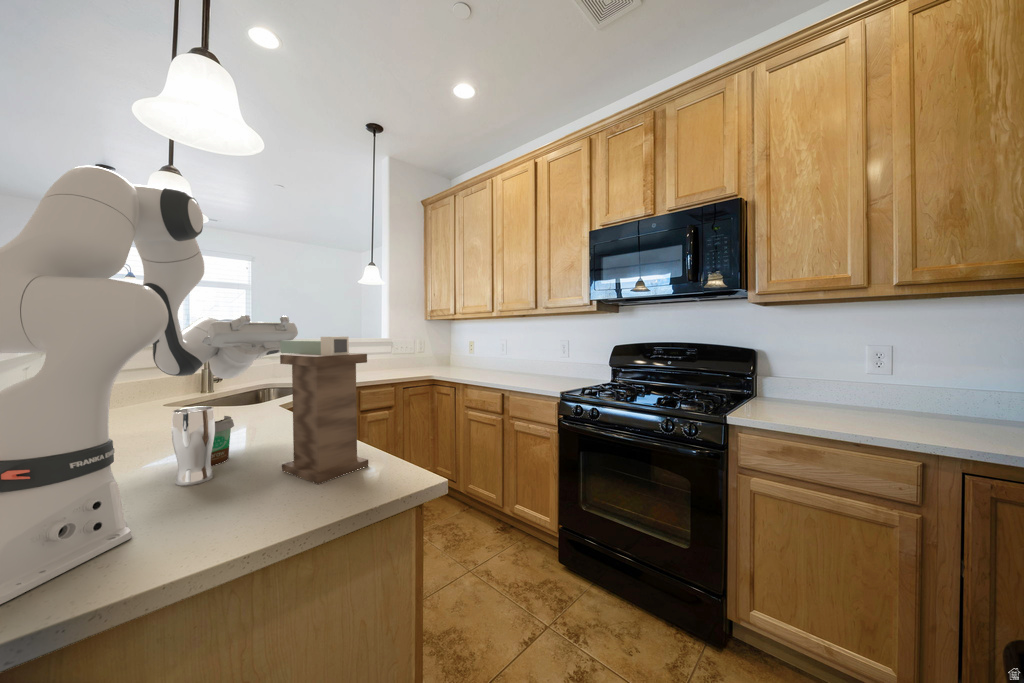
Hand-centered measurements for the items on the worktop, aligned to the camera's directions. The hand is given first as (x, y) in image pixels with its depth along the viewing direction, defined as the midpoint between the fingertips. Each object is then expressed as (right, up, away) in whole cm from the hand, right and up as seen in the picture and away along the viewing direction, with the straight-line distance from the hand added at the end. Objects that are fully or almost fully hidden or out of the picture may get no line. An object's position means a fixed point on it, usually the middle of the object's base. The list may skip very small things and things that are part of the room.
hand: (267, 318), depth 97 cm
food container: (-7, -35, -8) cm, 37 cm away
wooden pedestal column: (+21, -35, -12) cm, 43 cm away
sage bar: (+17, -9, -10) cm, 22 cm away
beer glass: (-3, -35, -19) cm, 40 cm away
